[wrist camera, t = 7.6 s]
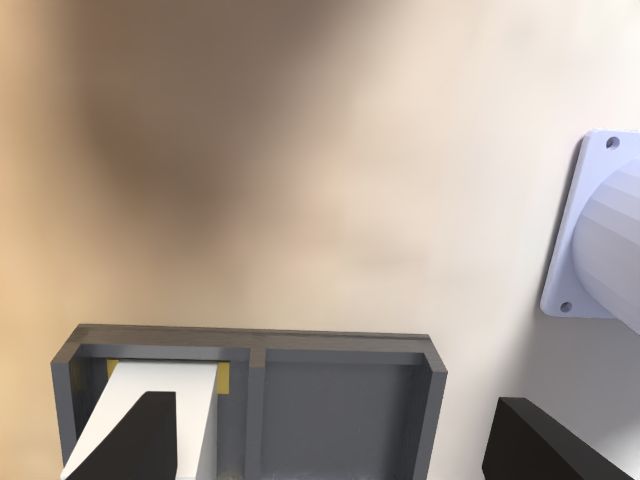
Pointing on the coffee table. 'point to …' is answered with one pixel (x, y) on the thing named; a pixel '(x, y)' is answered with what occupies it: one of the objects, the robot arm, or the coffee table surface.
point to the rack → (280, 396)
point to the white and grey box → (191, 411)
